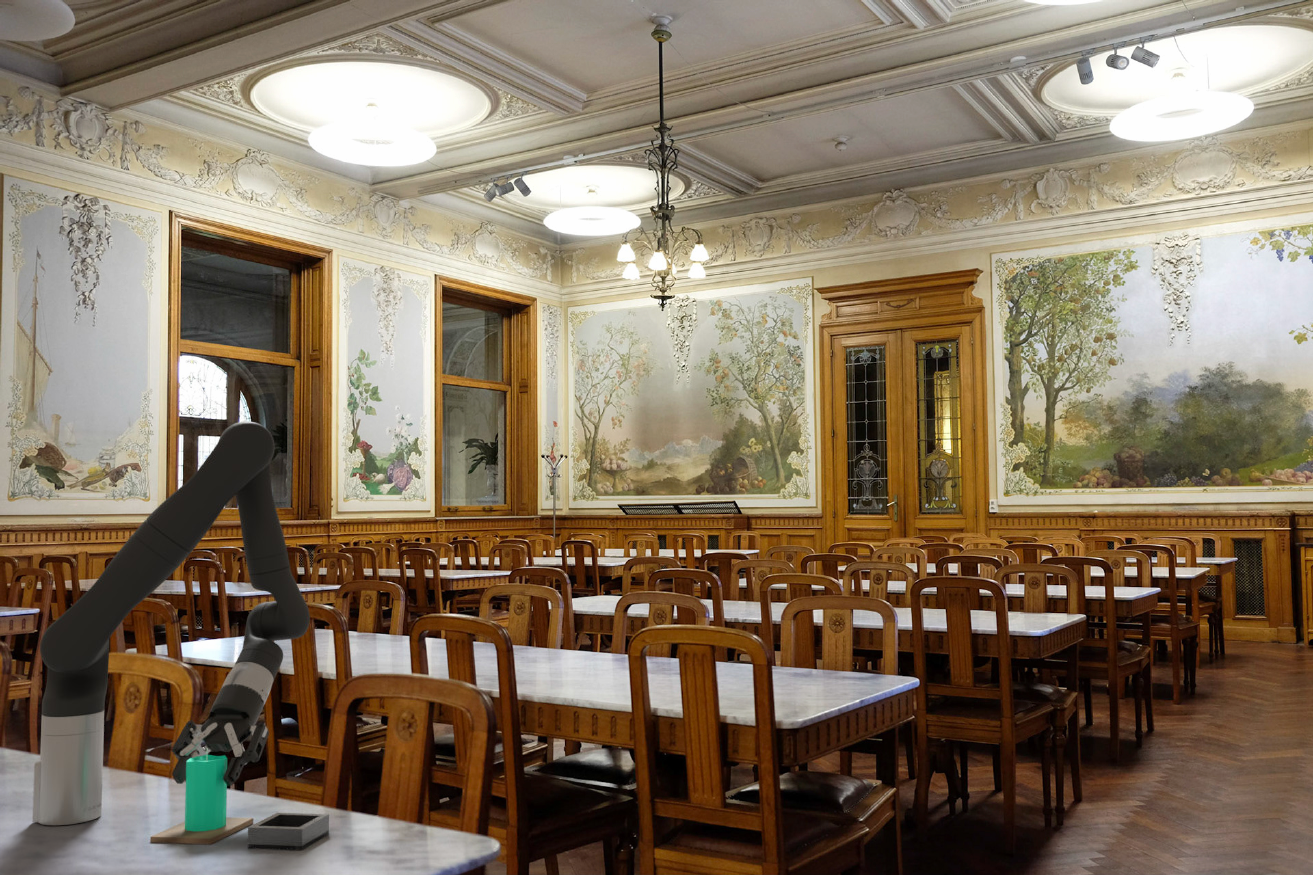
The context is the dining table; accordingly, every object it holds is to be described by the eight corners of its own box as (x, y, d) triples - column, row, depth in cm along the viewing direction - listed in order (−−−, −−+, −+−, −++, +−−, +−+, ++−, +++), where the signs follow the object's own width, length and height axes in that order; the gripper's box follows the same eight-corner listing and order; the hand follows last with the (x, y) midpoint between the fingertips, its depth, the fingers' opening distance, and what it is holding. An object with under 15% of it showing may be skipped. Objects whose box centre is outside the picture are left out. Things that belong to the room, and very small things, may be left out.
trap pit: (247, 848, 162) (248, 827, 163) (277, 832, 171) (277, 812, 171) (301, 850, 161) (302, 829, 161) (328, 834, 170) (329, 814, 170)
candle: (211, 832, 169) (213, 752, 170) (176, 830, 170) (178, 751, 171) (233, 821, 174) (235, 744, 176) (199, 820, 176) (201, 743, 177)
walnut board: (150, 841, 166) (150, 836, 167) (196, 821, 178) (196, 816, 178) (211, 844, 165) (211, 838, 165) (253, 823, 177) (253, 817, 177)
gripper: (195, 681, 183) (150, 767, 170) (274, 682, 180) (235, 769, 168) (212, 709, 187) (170, 793, 175) (290, 710, 185) (253, 796, 173)
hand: (202, 781), depth 172 cm, fingers open, 8 cm apart
